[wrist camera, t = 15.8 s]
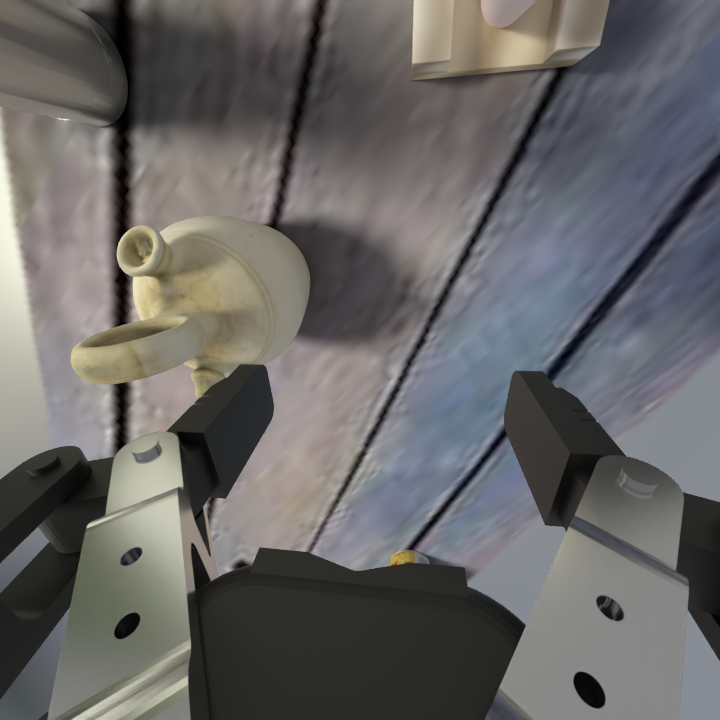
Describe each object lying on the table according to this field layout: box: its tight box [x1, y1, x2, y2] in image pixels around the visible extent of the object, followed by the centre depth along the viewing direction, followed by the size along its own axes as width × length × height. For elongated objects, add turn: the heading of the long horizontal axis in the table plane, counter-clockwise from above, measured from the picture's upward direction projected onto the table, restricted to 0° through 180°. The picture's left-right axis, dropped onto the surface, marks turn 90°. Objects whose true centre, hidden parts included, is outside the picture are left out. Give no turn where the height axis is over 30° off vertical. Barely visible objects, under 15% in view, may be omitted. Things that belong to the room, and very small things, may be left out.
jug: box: [71, 215, 310, 398], centre depth 30 cm, size 15×16×25 cm
